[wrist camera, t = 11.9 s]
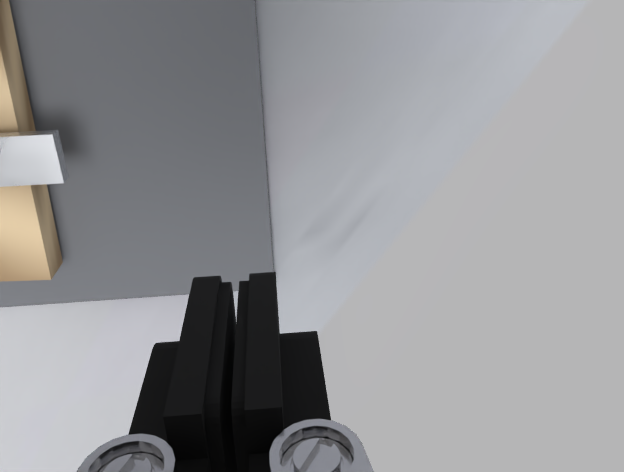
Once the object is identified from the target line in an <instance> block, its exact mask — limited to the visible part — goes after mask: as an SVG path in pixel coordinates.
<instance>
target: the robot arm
mask: <svg viewBox="0 0 624 472" xmlns="http://www.w3.org/2000/svg"><path fill="white" fill-rule="evenodd" d="M77 472H374V471H373V469H372V466H371V464H370V462H369V459H368V457H367V455H366V452H365V449H364V447H363V445H362V443H361V441H360V440H359V438H358V437H357V435H356V434H355V433H354V432H353V431H351V430H350V429H349V428H348V427H346V426H345V425H342V424H340V423H337V422H335V421H331V417H330V411H329V404H328V398H327V392H326V385H325V379H324V372H323V366H322V360H321V354H320V347H319V341H318V335H317V331H311V332H298V333H284V334H280V332H279V317H278V302H277V287H276V273H275V272H265V273H250V274H249V281H239V292H238V307H237V322H236V317H235V307H234V298H233V289H232V283H231V282H222V279H221V276H206V277H194V278H193V280H192V285H191V290H190V294H189V299H188V304H187V308H186V313H185V317H184V322H183V327H182V331H181V336H180V341H176V342H162V343H156V344H155V345H154V347H153V349H152V353H151V356H150V360H149V363H148V367H147V371H146V374H145V378H144V381H143V385H142V388H141V392H140V395H139V399H138V402H137V406H136V410H135V413H134V417H133V420H132V424H131V427H130V431H129V434H128V435H125V436H122V437H119V438H116V439H113V440H111V441H109V442H107V443H105V444H103V445H101V446H100V447H98V448H97V449H96V450H95V451H93V452H92V453H91V454H90V455H89V456H87V458H86V459H85V460H84V462H83V463H82V464H81V466H80V467H79V468H78V470H77Z"/></svg>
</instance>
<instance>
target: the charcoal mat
mask: <svg viewBox="0 0 624 472" xmlns="http://www.w3.org/2000/svg"><path fill="white" fill-rule="evenodd" d="M9 4H10V9H11V13H12V18H13V23H14V28H15V33H16V38H17V43H18V47H19V52H20V57H21V62H22V67H23V72H24V77H25V81H26V86H27V91H28V96H29V101H30V106H31V110H32V115H33V120H34V125H35V130H36V131H47V130H58V132H59V136H60V141H61V145H62V149H63V154H64V158H65V163H66V167H67V171H68V176H69V178H68V179H67V180H66V182H65V183H60V184H47V188H48V193H49V198H50V203H51V207H52V212H53V217H54V222H55V227H56V232H57V237H58V241H59V246H60V251H61V256H62V261H63V263H62V264H61V266H60V267H59V269H58V270H57V272H56V273H55V275H54V276H53V278H52V279H51V280H31V281H1V282H0V307H12V306H26V305H41V304H55V303H70V302H84V301H99V300H113V299H128V298H142V297H157V296H171V295H186V294H190V290H191V285H192V280H193V278H194V277H206V276H221V279H222V282H231V283H232V289H233V291H239V281H249V274H250V273H265V272H274V270H273V255H272V241H271V226H270V212H269V197H268V182H267V168H266V153H265V139H264V124H263V109H262V95H261V80H260V66H259V51H258V36H257V22H256V7H255V0H9Z"/></svg>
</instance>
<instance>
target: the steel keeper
mask: <svg viewBox="0 0 624 472" xmlns="http://www.w3.org/2000/svg"><path fill="white" fill-rule="evenodd" d="M68 178H69V176H68V171H67V167H66V163H65V158H64V154H63V149H62V145H61V141H60V136H59V132H58V130H47V131H27V132H7V133H0V187H6V186H24V185H42V184H60V183H65V182H66V180H67V179H68Z"/></svg>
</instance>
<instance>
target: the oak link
mask: <svg viewBox="0 0 624 472" xmlns="http://www.w3.org/2000/svg"><path fill="white" fill-rule="evenodd" d="M27 131H36V130H35V125H34V120H33V115H32V110H31V106H30V101H29V96H28V91H27V86H26V81H25V77H24V72H23V67H22V62H21V57H20V52H19V47H18V43H17V38H16V33H15V28H14V23H13V18H12V13H11V9H10V4H9V0H0V133H7V132H27ZM62 263H63V261H62V256H61V251H60V246H59V241H58V237H57V232H56V227H55V222H54V217H53V212H52V207H51V203H50V198H49V193H48V188H47V184H42V185H24V186H6V187H0V282H1V281H31V280H51V279H52V278H53V276H54V275H55V273H56V272H57V270H58V269H59V267H60V266H61V264H62Z"/></svg>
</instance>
